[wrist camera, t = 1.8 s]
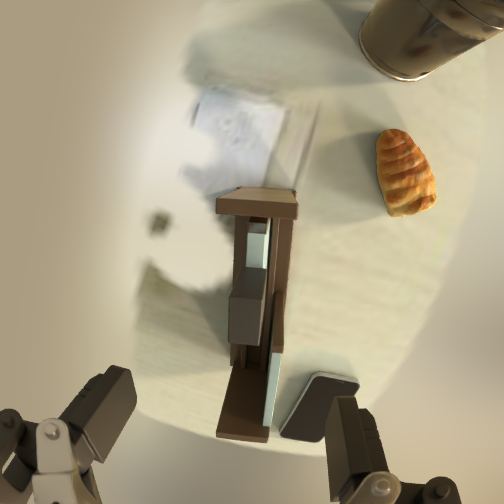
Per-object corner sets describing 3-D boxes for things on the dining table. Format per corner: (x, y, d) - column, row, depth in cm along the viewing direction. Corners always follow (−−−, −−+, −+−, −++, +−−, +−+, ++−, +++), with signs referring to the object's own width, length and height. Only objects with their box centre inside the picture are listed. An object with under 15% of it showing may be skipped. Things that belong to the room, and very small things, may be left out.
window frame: (295, 190, 30) (307, 204, 17) (277, 363, 36) (273, 444, 23) (238, 186, 30) (207, 197, 17) (231, 359, 36) (210, 436, 23)
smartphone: (276, 436, 39) (314, 373, 35) (277, 432, 40) (313, 369, 35) (318, 443, 39) (363, 383, 34) (318, 439, 40) (361, 379, 35)
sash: (274, 205, 28) (267, 241, 14) (267, 291, 31) (255, 385, 17) (256, 204, 29) (231, 238, 14) (251, 290, 31) (226, 382, 17)
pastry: (358, 140, 28) (368, 135, 24) (408, 123, 26) (422, 118, 23) (387, 220, 30) (400, 226, 26) (434, 200, 28) (450, 204, 25)
